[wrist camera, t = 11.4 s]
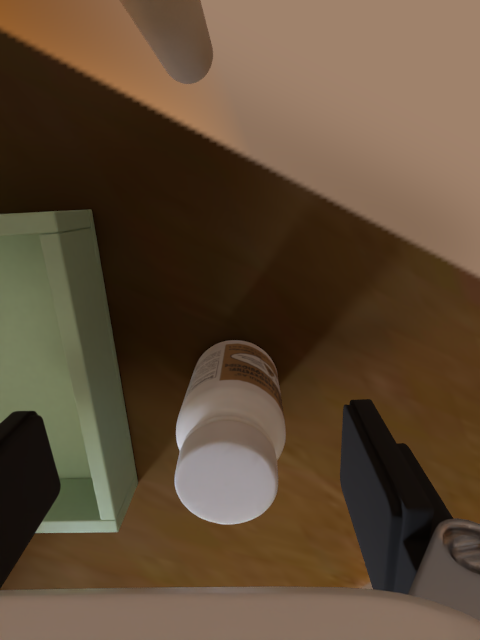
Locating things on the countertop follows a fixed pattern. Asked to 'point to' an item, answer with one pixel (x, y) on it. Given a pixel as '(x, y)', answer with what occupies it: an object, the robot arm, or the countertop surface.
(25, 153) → the countertop surface
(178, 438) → the pill bottle
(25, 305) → the tray
